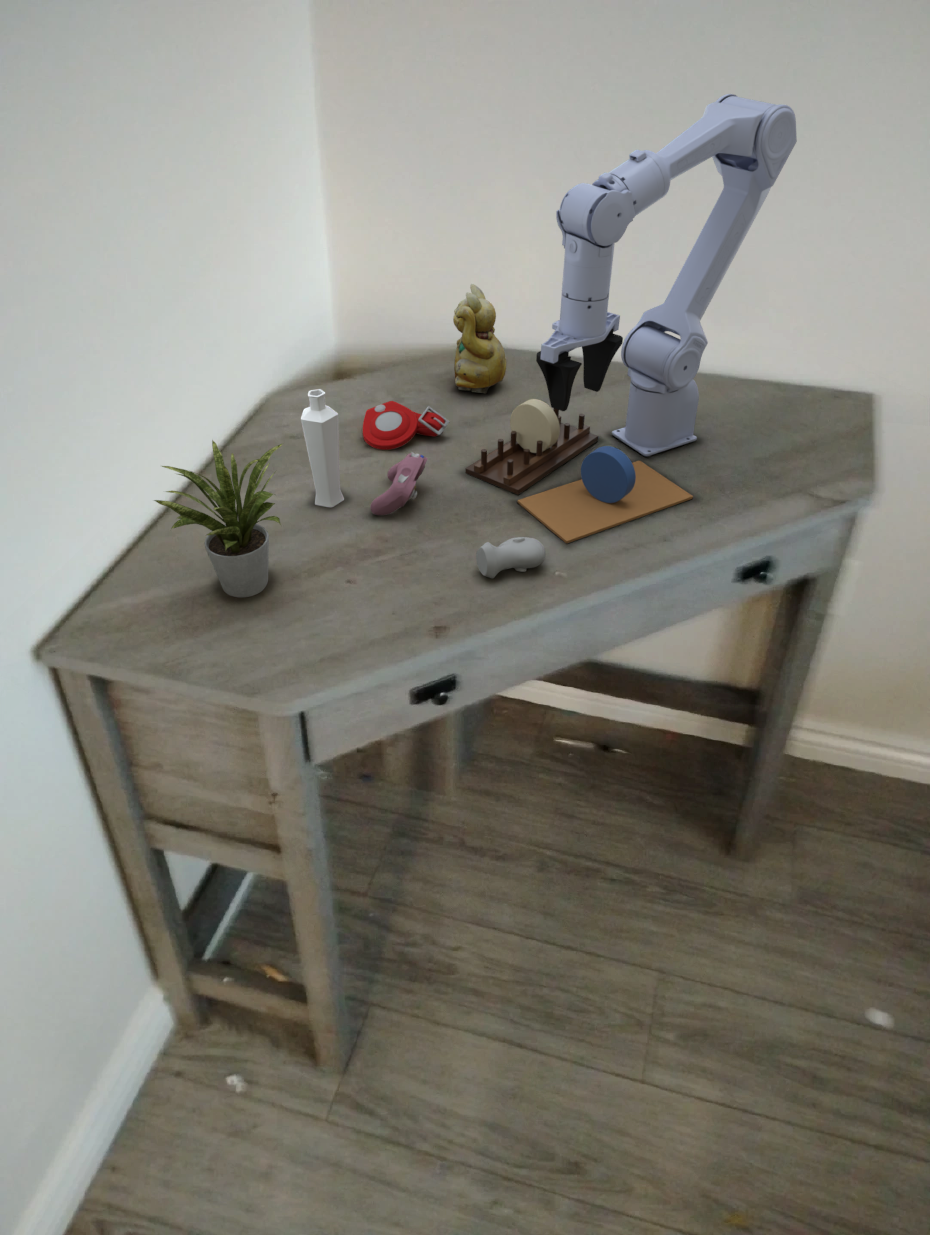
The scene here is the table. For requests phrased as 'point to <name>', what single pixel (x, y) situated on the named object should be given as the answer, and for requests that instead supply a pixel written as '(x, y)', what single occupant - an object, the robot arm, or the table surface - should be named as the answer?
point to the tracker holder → (399, 425)
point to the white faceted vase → (323, 448)
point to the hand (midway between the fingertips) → (575, 398)
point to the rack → (530, 458)
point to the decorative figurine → (477, 344)
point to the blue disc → (608, 474)
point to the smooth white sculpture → (510, 555)
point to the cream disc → (535, 425)
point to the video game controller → (400, 484)
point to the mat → (601, 505)
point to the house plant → (232, 524)
